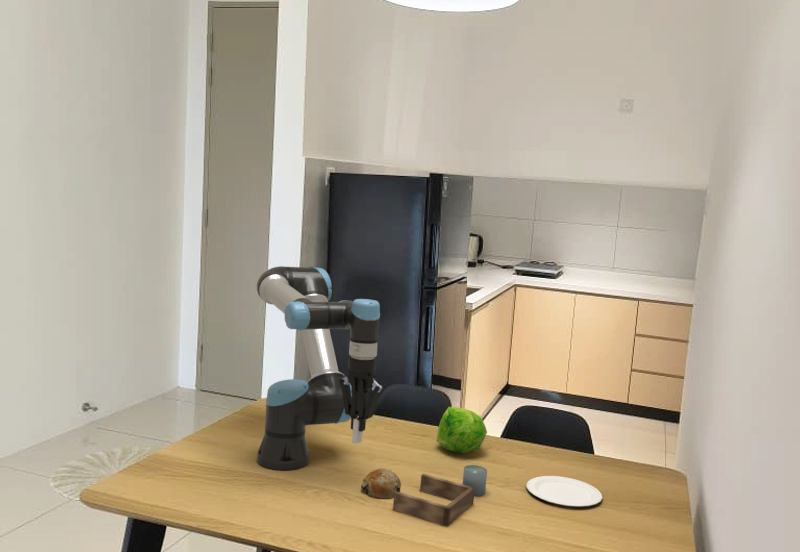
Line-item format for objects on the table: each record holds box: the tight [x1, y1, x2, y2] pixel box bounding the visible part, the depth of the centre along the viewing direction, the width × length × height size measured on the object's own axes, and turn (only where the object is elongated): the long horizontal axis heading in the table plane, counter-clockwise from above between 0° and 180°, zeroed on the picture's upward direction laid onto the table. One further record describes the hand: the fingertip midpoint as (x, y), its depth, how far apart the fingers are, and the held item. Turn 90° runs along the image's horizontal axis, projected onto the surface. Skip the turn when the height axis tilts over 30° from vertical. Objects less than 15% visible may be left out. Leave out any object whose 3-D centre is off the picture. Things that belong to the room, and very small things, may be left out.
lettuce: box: [436, 406, 488, 455], centre depth 230 cm, size 15×20×14 cm
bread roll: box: [360, 468, 401, 499], centre depth 192 cm, size 10×10×8 cm
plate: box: [526, 475, 603, 508], centre depth 200 cm, size 21×21×2 cm
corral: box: [392, 473, 475, 527], centre depth 185 cm, size 15×16×4 cm
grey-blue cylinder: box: [462, 464, 488, 498], centre depth 197 cm, size 6×6×6 cm
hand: (357, 441), depth 195 cm, fingers closed
